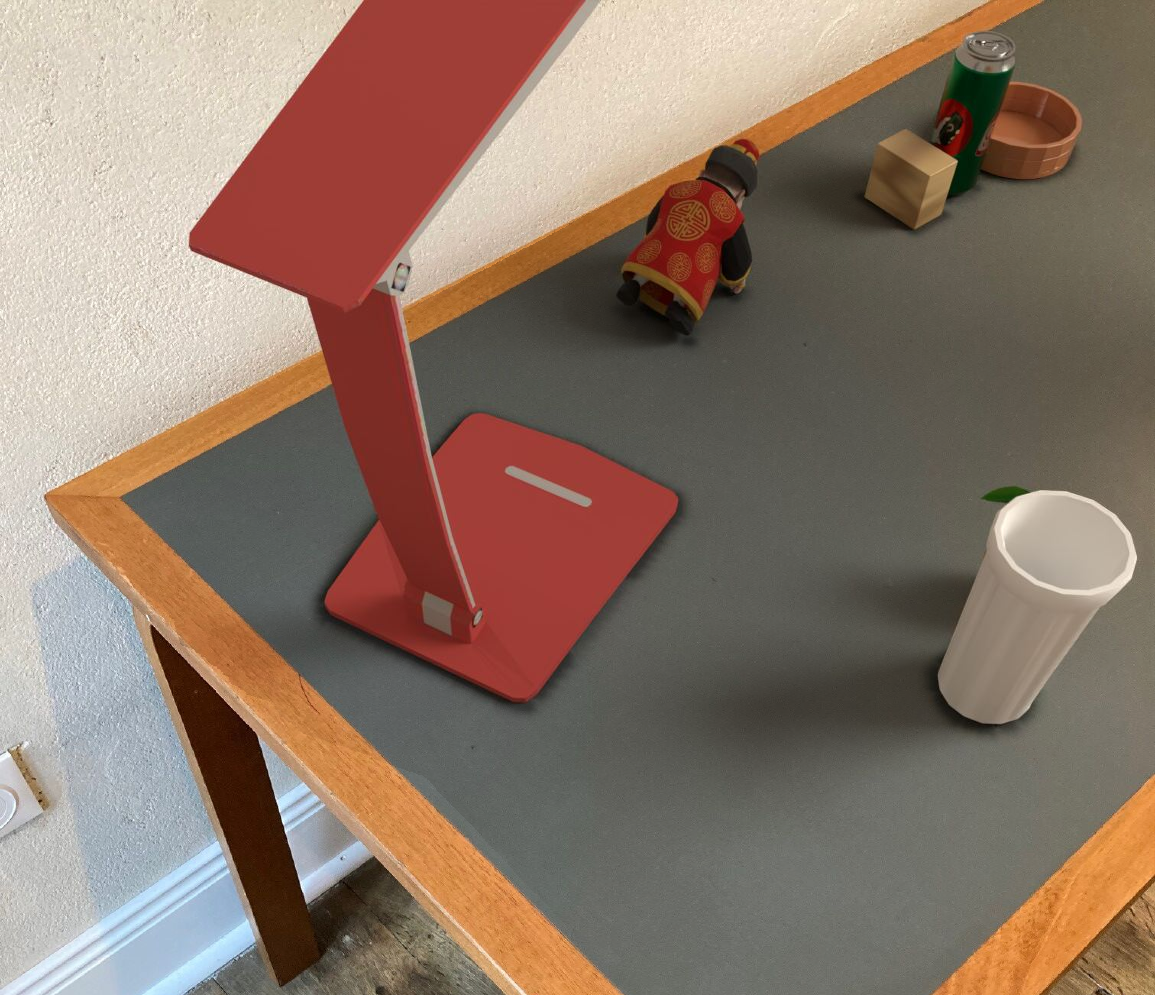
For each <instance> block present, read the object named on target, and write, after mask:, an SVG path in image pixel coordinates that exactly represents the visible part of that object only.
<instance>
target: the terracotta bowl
mask: <svg viewBox="0 0 1155 995" xmlns="http://www.w3.org/2000/svg"><path fill="white" fill-rule="evenodd" d="M1082 123H1083V117H1082V115H1081V113H1080V110H1079V109H1078V107H1077V106H1076V105H1075V104H1074V103H1072V102H1071V101H1070V100H1069V99H1068V98H1067V97H1065V96H1064V95H1063V94H1060V93H1058V92H1057V91H1054V90H1053V89H1050V88H1048V87H1044V86H1040V85H1038V84H1035V83H1030V82H1029V83H1028V82H1023V81H1010V83H1009V86H1008V89H1007V92H1006V95H1005V98H1004V101H1003V104H1002V107H1001V110H1000V113H999V116H998V119H997V122H996V125H995V128H994V131H993V134H992V137H991V140H990V143H989V146H988V149H987V152H986V155H985V158H984V161H983V164H982V167H981V170H982V171H983V172H987V173H989V174H991V175H995V176H998V177H1003V178H1006V179H1013V180H1014V179H1015V180H1033V179H1041V178H1046V177H1049V176H1052V175H1054V174H1056V173H1058V172H1059V171H1061V170H1062V169H1063V168H1064V167H1065V166H1066V165H1067V163H1068V161H1069V159H1070V157H1071V155H1072V153H1073V151H1074V148H1075V146H1076V143H1077V140H1078V138H1079V136H1080V134H1081V131H1082V127H1083V126H1082V125H1083V124H1082Z"/></svg>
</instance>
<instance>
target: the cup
mask: <svg viewBox="0 0 1155 995" xmlns="http://www.w3.org/2000/svg"><path fill="white" fill-rule="evenodd" d="M987 536H988V537H987V540H986V544H985V548H986V549H987V552H986V554H985V553H984V554H985V557H984V556H983V558H984V559H983V558H982V561H981V564H980V567H979V569H978V572H977V574H976V577H975V579H974V582H973V584H972V587H971V588H970V592H969V594H968V596H967V599H966V601H965V604H964V606H963V610H962V612H961V614H960V617H959V619H958V621H957V624H956V627H955V630H954V632H953V634H952V636H951V639H950V642H949V644H948V646H947V649H946V651H945V654H944V657H943V659H942V661H941V663H940V667H939V668H938V673H937V681H938V687H939V691H940V693H941V695H942V696H943V698H944V699H945V701H946V702H947V704H948V706H950V707H951V708H952V709H953V710H955V711H956V712H957V713H959V714H960V715H961V716H963V717H965V718H967V719H970V720H973V721H976V722H978V723H980V724H991V725H1003V724H1007V723H1009V722H1012V721H1015V720H1019V718H1021V717H1022V716H1023V715H1024V714H1025V713H1026V712H1027V711H1028V710H1029V709H1030V708H1031V706H1032V703H1033V702H1034V701H1035V699H1036V698H1037V696H1038V695H1039V693H1040V692H1041V691H1042V689H1043V688H1044V687H1045V684H1046V683H1047V681H1048V680H1049V679H1050V677H1051V676H1052V675H1053V673H1054V672H1055V670H1056V669H1057V668H1058V666H1059V665H1060V663H1061V662H1062V661H1063V659H1064V658H1065V657H1066V656H1067V654H1068V653H1069V651H1070V650H1071V648H1072V647H1073V646H1074V644H1075V643H1076V641H1078V638H1079V637H1080V636H1081V635H1082V633H1083V631H1084V630H1085V629H1086V628H1087V626H1088V624H1089V623H1090V621H1091V620H1092V619H1093V617H1094V616H1095V615H1096V614H1097V612H1098V611H1099V609H1100V608H1101V607H1104V606H1105V605H1106V604H1107V603H1108V602H1110V600H1112V599H1113V598H1114V597H1115V596H1116V595H1117V594H1119V592H1120V591H1121V590H1122V589H1123V588H1124V587H1126V585H1127V584H1128V583H1129V582H1130V581H1131V580H1132V578H1133V575H1134V570H1135V567H1136V564H1137V560H1138V557H1137V552H1136V547H1135V545H1134V540H1133V537H1132V533H1131V532H1130V530H1129V529H1128V528H1127V527H1126V526H1125V525H1124V523H1123V522H1122V521H1121V520H1120V518H1119V517H1118V515H1116V514H1115V513H1113V512H1112V511H1110V510H1109V509H1107V507H1104V506H1103V505H1101V504H1100V503H1099V502H1097V501H1096V500H1094V499H1091V498H1088V497H1085V496H1083V495H1079V494H1076V493H1073V492H1070V491H1067V490H1066V491H1065V490H1044V489H1041V490H1040V489H1039V490H1036V491H1031V493H1028V494H1025V495H1021V496H1017V497H1015V498H1014V499H1012V500H1011V501H1010V502H1009V503H1005V505H1003V506H1002V507H1001V508H1000V509H999V510H997V511H996V514H995V516H994V519H993V521H992V524H991V526H990V528H989V533H988V535H987ZM986 549H985V550H986Z"/></svg>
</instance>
